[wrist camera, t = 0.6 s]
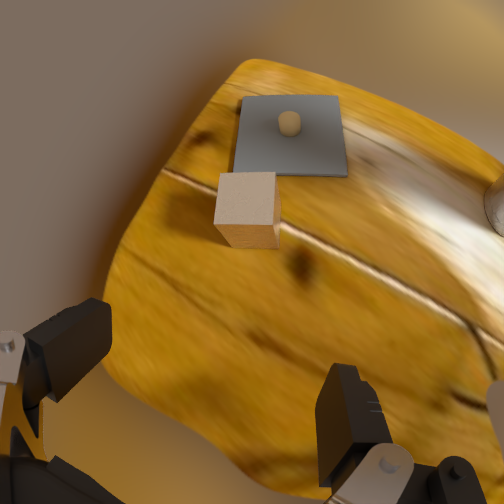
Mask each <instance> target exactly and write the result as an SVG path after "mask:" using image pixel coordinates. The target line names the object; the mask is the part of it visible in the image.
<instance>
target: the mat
mask: <svg viewBox="0 0 504 504" xmlns="http://www.w3.org/2000/svg"><path fill="white" fill-rule="evenodd" d="M240 172H276V175H292V176H333V177H347V176H348V173H347V162H346V153H345V144H344V136H343V128H342V121H341V114H340V107H339V101H338V96H329V95H266V96H248V97H243V101H242V108H241V115H240V122H239V129H238V137H237V144H236V152H235V160H234V168H233V173H240Z"/></svg>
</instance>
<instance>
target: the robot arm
mask: <svg viewBox="0 0 504 504" xmlns="http://www.w3.org/2000/svg"><path fill="white" fill-rule="evenodd" d="M484 205H485V211H486V214H487V217H488V219H489V221H490V223H491V225H492V226H493V228H494V229H495V230H496V231H497V232H498V233H499V234H500V235H501V236H503V237H504V174H503V175H502V176H501V177H500V178H499V179H498V180H496V181H495V182H494V183H493V184H492V185H491V186H490V187H489V188H488V189H487V191H486V193H485V197H484ZM111 345H112V313H111V306H110V304H108V303H106V302H103V301H100V300H98V299H95V298H89V299H87V300H86V301H84V302H82V303H81V304H79V305H77V306H73V307H69V308H66V309H64V310H62V311H61V312H59V313H57V315H54V316H52V317H51V318H49V320H46V321H44V322H43V323H41V324H39V325H38V326H36V327H34V328H33V329H31V330H30V331H28V332H26V333H25V334H23V335H21V334H20V333H18V332H15V331H10V330H6V331H1V332H0V504H125V503H123V502H121V501H120V500H119V499H118V498H116V497H115V496H113V495H112V494H111V493H110V492H108V491H107V490H106V489H105V488H103V487H102V486H101V485H100V484H99V483H97V482H96V481H95V480H94V479H92V478H91V477H90V476H89V475H87V474H85V473H84V472H82V471H80V470H78V469H76V468H75V467H73V466H72V465H70V464H69V463H67V462H65V461H64V460H62V459H61V458H59V457H58V456H56V455H55V456H54V458H53V459H52V460H51V461H50V462H48V460H47V457H46V454H45V450H44V443H43V401H42V399H43V398H44V397H45V396H47V397H48V398H50V399H51V400H53V401H55V402H56V403H58V402H59V401H60V400H61V399H62V398H63V397H64V396H65V395H66V394H67V393H68V392H69V391H70V390H71V389H72V388H73V387H74V386H75V385H76V384H77V383H78V382H79V381H80V380H81V379H82V378H83V377H84V376H85V375H86V374H87V373H88V372H89V371H90V370H91V369H93V368H94V366H96V365H97V364H98V363H99V362H100V361H101V360H102V359H103V358H104V357H105V356H106V355H107V354H108V352H109V351H110V348H111ZM315 419H316V433H317V450H318V470H319V487H331V489H332V495H331V496H330V497H329V498H328V499H327V500H326V501H325V502H324V503H323V504H487V502H486V499H485V497H484V494H483V491H482V488H481V486H480V483H479V480H478V478H477V475H476V473H475V470H474V468H473V466H472V465H471V464H470V463H469V462H468V461H467V460H465V459H464V458H461V457H458V456H450V457H447V458H445V459H444V460H443V461H442V462H441V463H440V464H439V465H438V466H437V467H433V466H427V465H421V464H416V463H414V462H413V459H412V457H411V455H410V454H409V453H408V452H407V451H406V450H405V449H404V448H402V447H400V446H398V445H396V444H393V441H392V438H391V435H390V432H389V429H388V426H387V423H386V420H385V417H384V414H383V413H382V409H381V406H380V404H379V400H378V397H377V394H376V392H375V390H374V389H373V388H372V387H371V386H370V385H369V384H368V382H367V381H361V380H360V377H359V374H358V370H357V368H356V366H353V365H346V364H339V363H334V364H333V365H332V366H331V368H330V371H329V373H328V375H327V378H326V380H325V382H324V385H323V387H322V389H321V391H320V394H319V396H318V399H317V402H316V407H315Z"/></svg>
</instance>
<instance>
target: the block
mask: <svg viewBox="0 0 504 504" xmlns="http://www.w3.org/2000/svg"><path fill="white" fill-rule="evenodd" d="M280 218H281V202H280V196H279V190H278V184H277V178H276V172H240V173H220V180H219V187H218V194H217V201H216V209H215V217H214V225H215V227H216V228H217V229H218V230H219V232H220V233H221V234H222V235H223V237H224V238H225V239H226V240H227V242H228V243H229V244H230V245H231V246H232V248H265V249H279V240H280Z"/></svg>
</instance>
